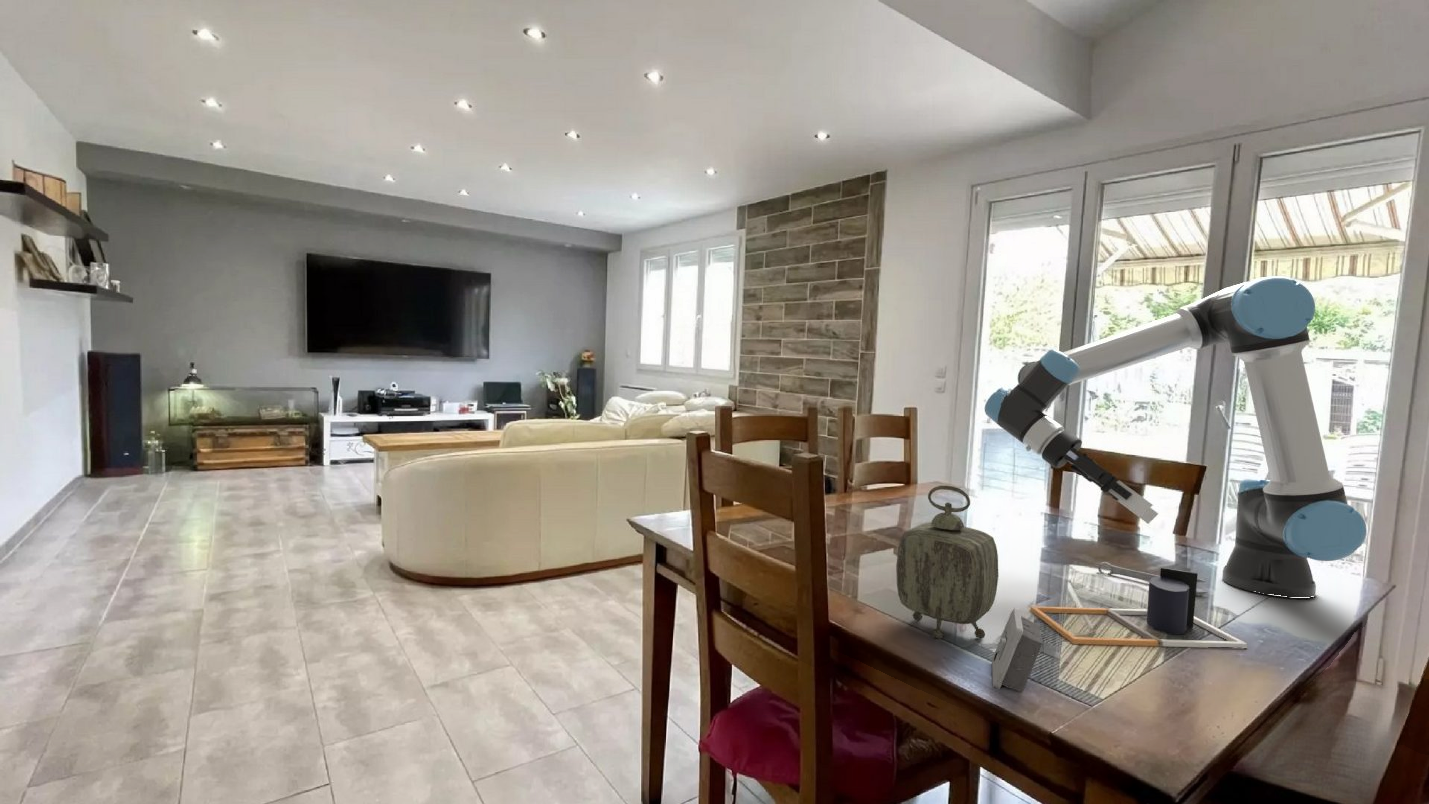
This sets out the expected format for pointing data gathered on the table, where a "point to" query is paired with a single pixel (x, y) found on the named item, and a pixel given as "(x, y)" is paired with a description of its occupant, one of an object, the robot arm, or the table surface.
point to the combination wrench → (1138, 575)
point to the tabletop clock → (947, 569)
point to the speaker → (1172, 601)
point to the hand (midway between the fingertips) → (1150, 515)
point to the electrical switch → (1016, 652)
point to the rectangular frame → (1149, 637)
